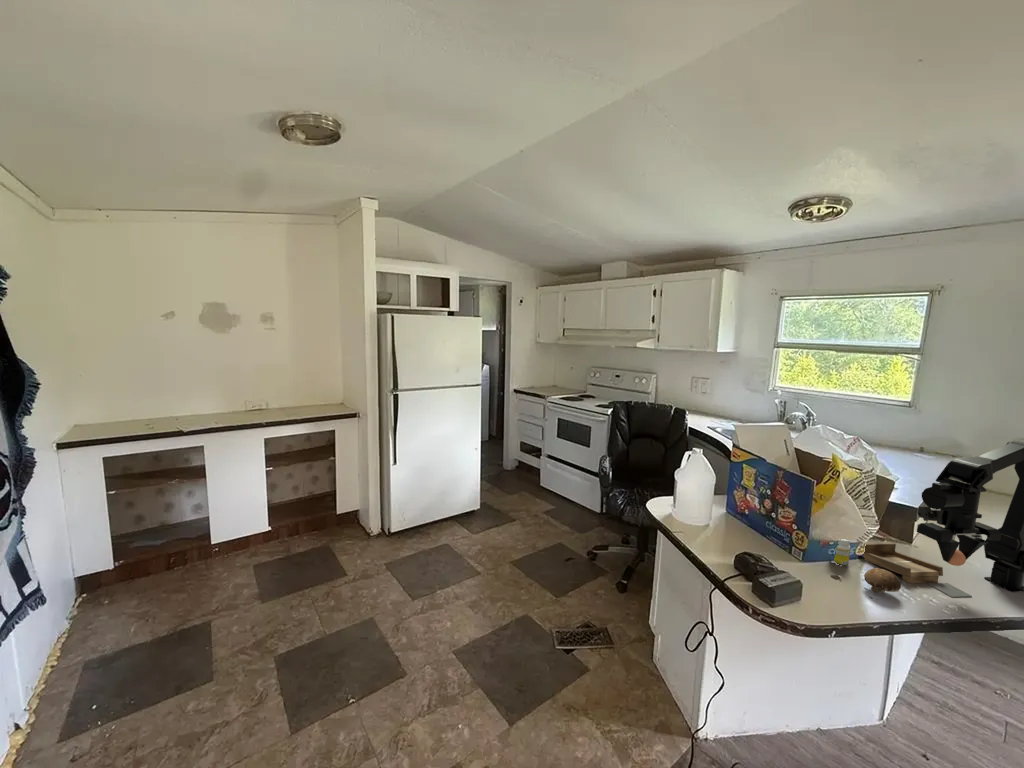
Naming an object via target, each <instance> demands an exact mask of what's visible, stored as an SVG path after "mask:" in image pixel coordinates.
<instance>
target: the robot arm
mask: <svg viewBox="0 0 1024 768" xmlns="http://www.w3.org/2000/svg"><path fill="white" fill-rule="evenodd" d="M1013 465H1014V471H1015V473H1016V475H1017V477H1018V481H1017V485H1016V487H1015V490H1014V493H1013V494H1012V495H1013V496H1012V498H1011V501H1010V503H1009V506H1008V509H1007V512H1006V515H1005V517H1004V520H1003V523H1002V525H1001V527H999V528H995V527H992V526H990V525H988V524H984V523H982V522H979V521H977V519H982V517H983V514H982V513H979V512H978V510H979V506H980V500H981V499H980V498H981V493H987V489H986V488H985V487H984V485H986V484H987V483H989V482H991V481H992V480H993V479H994V474H995V473H997V472H999V471H1002V470H1004V469H1006V468H1008V467H1011V466H1013ZM921 499H922V501H923V503H924V504H925V506H922V505H920V506H918V509H917V515H918V517H919V518H920V519H923V521H924V522H921V523H918V524H917V525H916V532H917V533H918V534H919V535H920V534H921V535H923V536H925V537H928V538H929V539H932V540H933V541H936V543H937V545H938V547H939V548H938V549H939V551H940V555H941V557H942V560H943V561H944V562H946V563H947V562H949V561H950V559H951V558H952V556H953V554H954V553H955V551H956V550H959V551H961V552H962V553H963V554H964V555H965V557H966V561H967V560H968V559H969V558H970V557H971V556H972V555H973V554H975V553H976V552H977V551H978V550H980V549H981V548H982V547H983V549H984V555H985V556H984V558H985V559H988V560H991V561H993V565H992V568H991V572H990V573H991V574H990V576H985V577H983V579H984V580H986V581H988V582H990V583H992V584H993V583H994V585H995V584H996V585H995V586H998V587H1000V588H1002V589H1004V590H1006V591H1007V592H1010V591H1011V592H1013V593H1014V592H1015V593H1017V592H1019V591H1022V592H1024V442H1023V441H1017V440H1009V441H1008V442H1007V443H1006V444H1005V445H1002V446H1000V447H997V448H994V449H992V450H989V451H988V452H985V453H983V454H981V455H978V456H962V457H958V458H953V459H952V460H950V461H949V462H948V463H947V464H946V466H945V467H944V469H943V470H942V471H941V472H940V473H939V475H938V476H937V478H936V479H935V482H932V484H931V486H930V487H926V488H925V489H924V490H923V491H922V492H921ZM928 521H931V522H928ZM932 521H933V522H936V523H933V522H932ZM943 526H944V527H943ZM982 535H984V536H986V539H983V536H982ZM956 537H957V539H958V541H957V540H956ZM1011 592H1010V593H1011Z"/></svg>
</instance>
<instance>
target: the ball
mask: <svg viewBox="0 0 1024 768" xmlns="http://www.w3.org/2000/svg"><path fill="white" fill-rule="evenodd" d="M966 561H967V560H966V557H965V555H964V554H963V553H962V552H961V551H959V549H956V551H955V553H954V554H953V556H952V558H951V559H950V561H949V562H946V563H948V564H949V565H951V566H955V567H959V566H963V565H964V564H965V563H966Z"/></svg>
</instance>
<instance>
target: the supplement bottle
mask: <svg viewBox="0 0 1024 768" xmlns="http://www.w3.org/2000/svg"><path fill="white" fill-rule="evenodd" d="M850 541H851V540H846V539H841V540H840V539H839V542H838V544H839V545H838V546H837V548H836V555H835V558H834V561H835V562H836V563H837V564H839V565H842V566H848V567H849V563H850V555H851V545H850V544H851V542H850Z"/></svg>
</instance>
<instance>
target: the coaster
mask: <svg viewBox="0 0 1024 768" xmlns="http://www.w3.org/2000/svg"><path fill="white" fill-rule="evenodd" d="M927 585H928V586H930V587H932V588H933V589H935V590H938V591H940V592H941V593H942V594H944V595H946V596H948V597H950V598H972V597H973V596H972V595H971V594H970V593H967V592H966V591H964V590H961V589H960V588H958V587H956V586H954V585H952V584H950V583H948V582H937V583H927Z"/></svg>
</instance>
